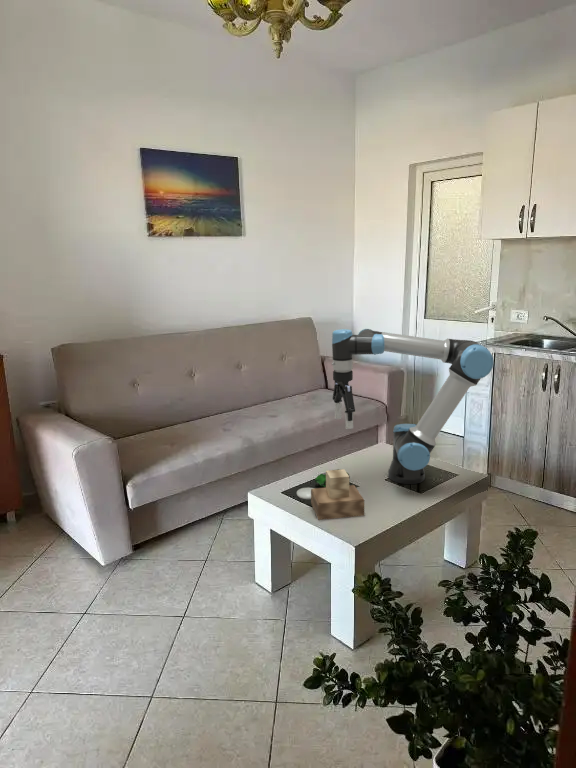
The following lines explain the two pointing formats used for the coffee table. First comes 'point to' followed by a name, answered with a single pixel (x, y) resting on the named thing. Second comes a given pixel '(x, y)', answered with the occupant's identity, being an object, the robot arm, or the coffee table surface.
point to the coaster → (304, 493)
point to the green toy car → (323, 479)
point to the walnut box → (337, 504)
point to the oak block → (337, 483)
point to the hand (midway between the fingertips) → (343, 423)
